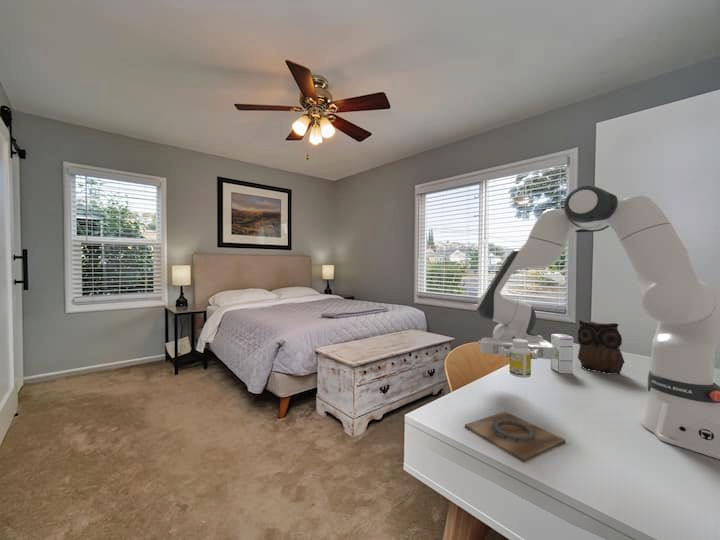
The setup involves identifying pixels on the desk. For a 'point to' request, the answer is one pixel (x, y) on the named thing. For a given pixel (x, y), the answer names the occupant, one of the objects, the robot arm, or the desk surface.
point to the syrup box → (562, 353)
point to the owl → (600, 346)
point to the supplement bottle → (520, 359)
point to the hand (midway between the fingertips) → (520, 355)
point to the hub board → (515, 435)
